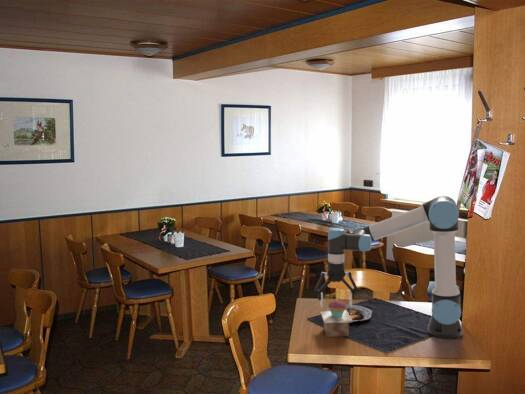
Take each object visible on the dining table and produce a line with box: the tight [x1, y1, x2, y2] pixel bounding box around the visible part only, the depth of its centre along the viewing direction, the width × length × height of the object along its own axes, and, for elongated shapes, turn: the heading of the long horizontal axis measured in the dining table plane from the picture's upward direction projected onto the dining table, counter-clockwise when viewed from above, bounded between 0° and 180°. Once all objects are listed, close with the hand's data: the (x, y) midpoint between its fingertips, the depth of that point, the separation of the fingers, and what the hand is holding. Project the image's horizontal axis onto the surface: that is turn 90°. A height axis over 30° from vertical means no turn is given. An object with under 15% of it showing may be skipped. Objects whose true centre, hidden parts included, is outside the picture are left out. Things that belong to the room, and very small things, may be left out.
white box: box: [319, 310, 353, 338], centre depth 245 cm, size 13×13×8 cm
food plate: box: [325, 303, 373, 323], centre depth 266 cm, size 25×23×4 cm
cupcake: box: [327, 289, 346, 318], centre depth 243 cm, size 9×8×12 cm
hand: (336, 306), depth 243 cm, fingers open, 13 cm apart
